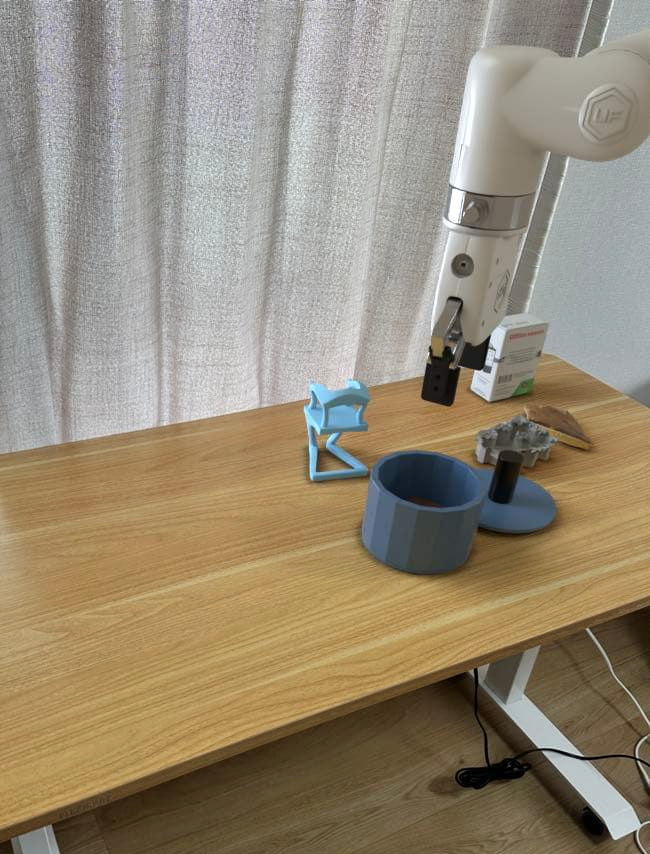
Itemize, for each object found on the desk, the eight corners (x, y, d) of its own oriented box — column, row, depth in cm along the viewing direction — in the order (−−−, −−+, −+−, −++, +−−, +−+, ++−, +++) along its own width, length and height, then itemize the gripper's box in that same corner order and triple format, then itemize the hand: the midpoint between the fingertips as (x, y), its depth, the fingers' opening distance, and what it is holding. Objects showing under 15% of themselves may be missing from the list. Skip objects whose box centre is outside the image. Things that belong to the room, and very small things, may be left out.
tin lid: (565, 496, 103) (581, 448, 99) (538, 551, 94) (555, 500, 89) (462, 464, 109) (473, 417, 104) (426, 513, 99) (437, 463, 95)
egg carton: (508, 480, 106) (515, 453, 103) (464, 455, 111) (471, 428, 108) (558, 457, 111) (566, 431, 109) (514, 434, 116) (522, 409, 113)
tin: (483, 531, 96) (500, 471, 91) (449, 588, 87) (465, 525, 82) (386, 498, 101) (397, 439, 96) (343, 549, 92) (353, 487, 87)
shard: (590, 453, 113) (594, 442, 111) (536, 451, 112) (539, 440, 111) (564, 416, 121) (568, 405, 120) (514, 414, 121) (517, 403, 120)
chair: (345, 444, 112) (356, 363, 104) (368, 476, 105) (381, 392, 98) (292, 449, 110) (300, 367, 103) (312, 482, 103) (321, 397, 96)
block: (438, 534, 95) (445, 506, 92) (426, 551, 92) (433, 523, 89) (406, 523, 96) (412, 495, 94) (393, 539, 93) (399, 511, 91)
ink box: (510, 380, 130) (529, 310, 123) (531, 393, 127) (552, 321, 120) (468, 389, 127) (485, 317, 120) (488, 403, 124) (507, 329, 117)
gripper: (501, 238, 64) (461, 428, 75) (553, 195, 77) (512, 363, 87) (413, 223, 67) (386, 407, 78) (476, 183, 79) (446, 347, 90)
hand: (453, 383), depth 82 cm, fingers open, 9 cm apart
